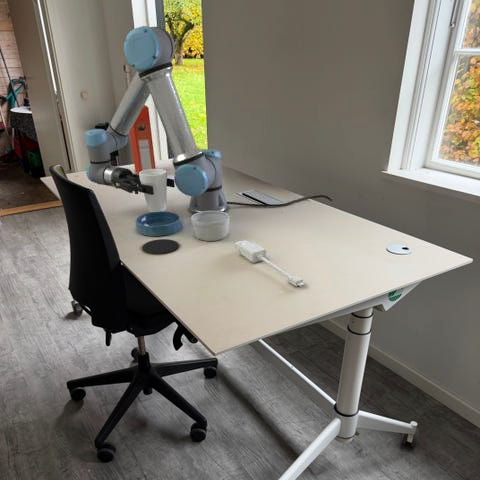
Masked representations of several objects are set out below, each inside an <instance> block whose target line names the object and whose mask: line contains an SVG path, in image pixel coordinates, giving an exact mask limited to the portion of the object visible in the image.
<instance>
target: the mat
mask: <svg viewBox="0 0 480 480" xmlns="http://www.w3.org/2000/svg"><path fill="white" fill-rule="evenodd" d="M141 248H142V251H143V252H144V253H146V254H149V255H165V254H170V253H173V252H175V251H176V250H178V248H179V243H178V242H177V241H175V240H172V239H167V238H163V239H162V238H161V239H160V238H159V239H154V240H150V241H147V242H145V243H144V244H143V245H142V247H141Z"/></svg>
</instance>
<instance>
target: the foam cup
mask: <svg viewBox="0 0 480 480" xmlns="http://www.w3.org/2000/svg"><path fill="white" fill-rule="evenodd" d="M139 177H140V181H141V184H144V185H149V186H153V191H154V195H150V194H146V193H143V195H144V199H145V203H146V206H147V211H149V213H150V212H161V211H166V210H167V192H168V191H167V189H168V188H167V187H168V186H167V178H168V173H167V170H166V169H163V168H156V169H148V170H143V171H141V172H139Z"/></svg>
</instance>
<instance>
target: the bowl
mask: <svg viewBox="0 0 480 480" xmlns="http://www.w3.org/2000/svg"><path fill="white" fill-rule="evenodd" d="M134 223H135V229H136V231H137V233H138V234H141V235H143V236H151V237H158V236H159V237H160V236H168V235H171V234H174V233H176V232H178V231H180V230H181V229H182V217H181V215H180V214H179V213H176V212H175V211H166V210H164V211H161V212H150V211H149V212H146V213H142V214H140V215H138V216H137V217H136V218H135V220H134Z"/></svg>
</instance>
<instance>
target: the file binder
mask: <svg viewBox="0 0 480 480" xmlns="http://www.w3.org/2000/svg"><path fill="white" fill-rule="evenodd" d="M129 137H130V143H131V151H132V157H133V158H132V159H133V165H134V171H135V172H136V174H139V172H141V171H143V170H148V169H157V167H156V159H155V150H154V143H153V133H152V127H151V119H150V108H149V106H147V105H146V104H144V106H143V108H142V110H141V112H140V114H139V116H138V117H137V119H136V121H135V123H134V125H133V127H132V128H131V130H130V132H129Z"/></svg>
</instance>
